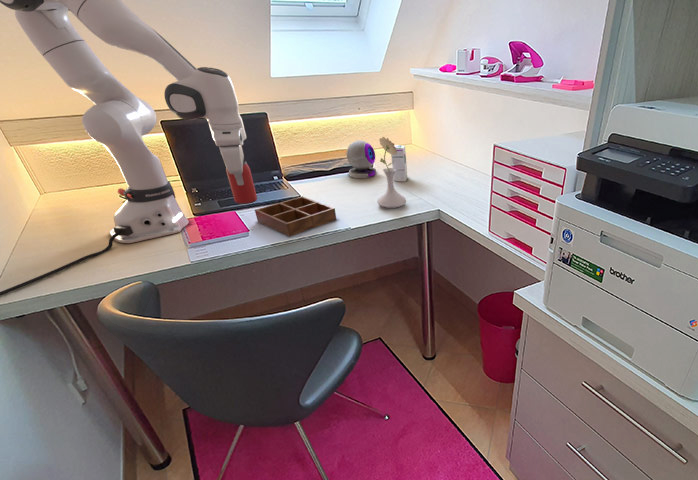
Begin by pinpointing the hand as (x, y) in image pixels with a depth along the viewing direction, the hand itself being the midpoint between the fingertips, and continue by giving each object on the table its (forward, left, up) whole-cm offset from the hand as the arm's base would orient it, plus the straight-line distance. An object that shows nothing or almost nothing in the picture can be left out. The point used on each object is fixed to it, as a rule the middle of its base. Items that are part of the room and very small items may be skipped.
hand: (241, 180), depth 130 cm
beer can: (0, 0, -7) cm, 7 cm away
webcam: (+70, +28, -19) cm, 78 cm away
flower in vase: (+50, -12, -19) cm, 55 cm away
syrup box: (+76, +9, -19) cm, 79 cm away
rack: (+16, +1, -18) cm, 25 cm away
